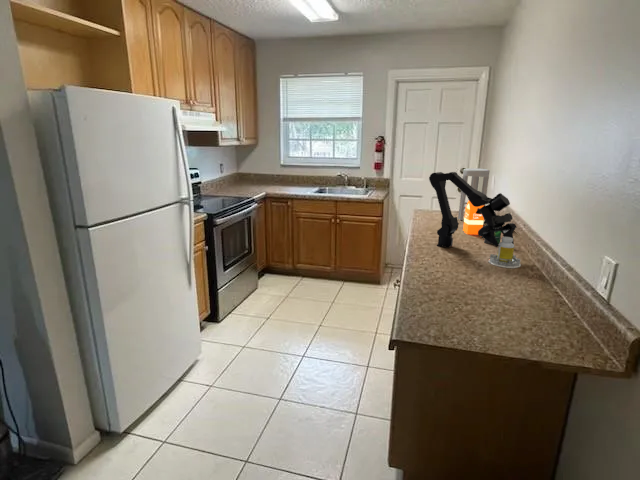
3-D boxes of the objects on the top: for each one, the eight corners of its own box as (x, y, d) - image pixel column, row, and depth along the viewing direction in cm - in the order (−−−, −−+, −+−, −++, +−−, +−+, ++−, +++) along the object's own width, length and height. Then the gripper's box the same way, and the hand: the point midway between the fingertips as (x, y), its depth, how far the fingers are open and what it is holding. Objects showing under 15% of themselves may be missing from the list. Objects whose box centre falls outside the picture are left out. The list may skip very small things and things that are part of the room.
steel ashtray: (485, 264, 177) (486, 258, 176) (491, 256, 188) (492, 250, 188) (518, 270, 170) (519, 263, 169) (522, 262, 181) (523, 255, 181)
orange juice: (481, 234, 230) (486, 201, 224) (466, 234, 230) (470, 200, 225) (477, 231, 237) (481, 198, 232) (462, 231, 238) (466, 198, 232)
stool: (453, 219, 269) (459, 168, 259) (472, 218, 273) (478, 168, 264) (467, 224, 254) (474, 170, 245) (487, 223, 259) (494, 170, 250)
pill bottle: (513, 265, 176) (517, 240, 172) (498, 263, 177) (501, 239, 174) (509, 260, 182) (513, 236, 179) (494, 259, 183) (498, 235, 180)
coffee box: (483, 243, 212) (486, 219, 209) (483, 241, 215) (486, 218, 211) (499, 244, 209) (503, 221, 205) (499, 243, 212) (503, 220, 208)
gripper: (485, 208, 174) (501, 238, 168) (516, 206, 181) (533, 235, 175) (470, 221, 184) (485, 250, 177) (500, 219, 191) (515, 246, 184)
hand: (505, 245), depth 178 cm, fingers open, 9 cm apart
